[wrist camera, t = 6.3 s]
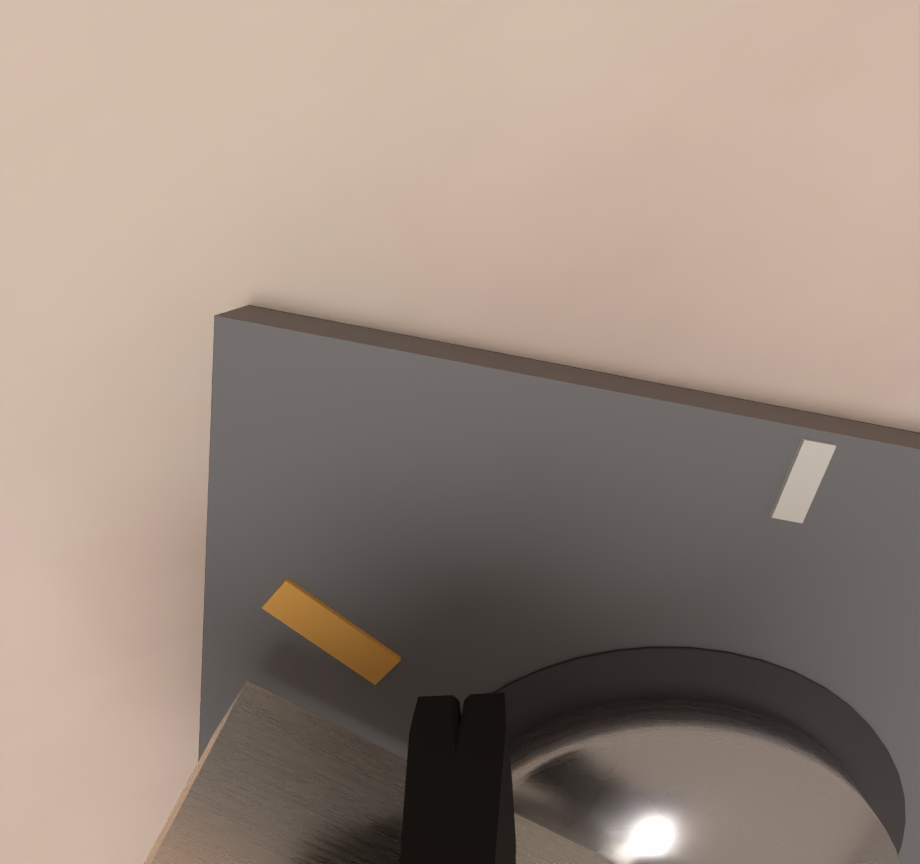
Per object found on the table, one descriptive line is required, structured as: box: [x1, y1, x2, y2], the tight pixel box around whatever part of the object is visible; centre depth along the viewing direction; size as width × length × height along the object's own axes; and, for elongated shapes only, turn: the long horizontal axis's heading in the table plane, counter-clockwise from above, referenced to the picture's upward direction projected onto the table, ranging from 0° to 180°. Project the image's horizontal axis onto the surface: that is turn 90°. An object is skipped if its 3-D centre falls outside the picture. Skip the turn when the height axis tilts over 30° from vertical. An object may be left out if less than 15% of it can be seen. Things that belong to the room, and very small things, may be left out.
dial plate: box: [198, 305, 920, 864], centre depth 14 cm, size 22×22×2 cm
